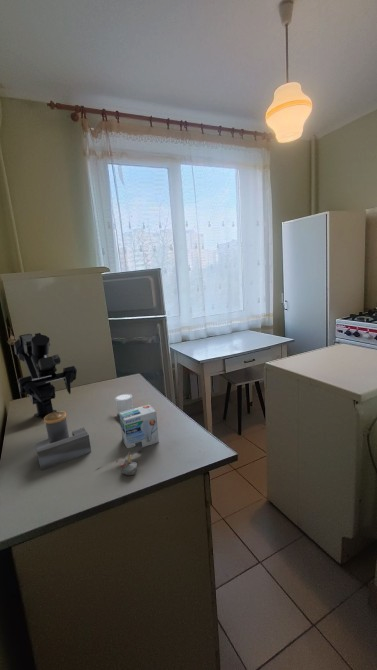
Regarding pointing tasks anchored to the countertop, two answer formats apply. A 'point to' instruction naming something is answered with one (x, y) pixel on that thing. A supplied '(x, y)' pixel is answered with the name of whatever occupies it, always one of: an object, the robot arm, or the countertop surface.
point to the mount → (63, 449)
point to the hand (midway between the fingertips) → (56, 397)
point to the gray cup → (56, 426)
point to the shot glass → (124, 402)
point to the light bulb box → (139, 426)
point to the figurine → (128, 466)
